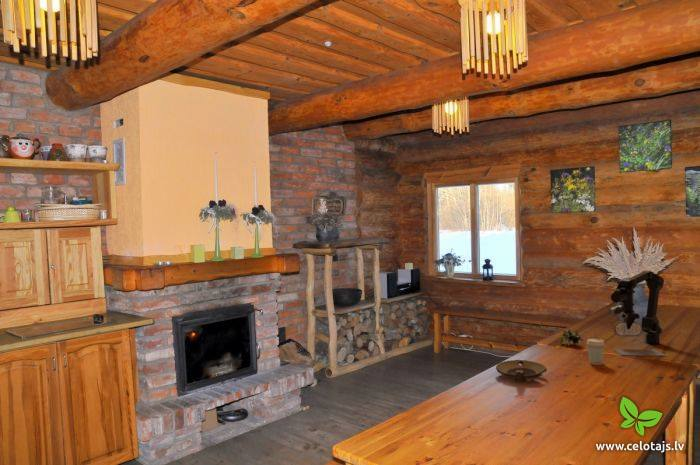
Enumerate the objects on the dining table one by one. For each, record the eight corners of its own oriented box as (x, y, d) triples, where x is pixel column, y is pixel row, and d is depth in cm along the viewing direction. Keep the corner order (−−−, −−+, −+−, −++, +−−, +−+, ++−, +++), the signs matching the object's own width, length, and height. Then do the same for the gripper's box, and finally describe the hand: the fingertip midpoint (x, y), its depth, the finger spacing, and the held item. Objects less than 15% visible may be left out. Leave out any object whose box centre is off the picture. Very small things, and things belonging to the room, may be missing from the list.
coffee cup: (607, 366, 259) (607, 342, 259) (588, 365, 261) (588, 341, 261) (602, 361, 268) (602, 338, 268) (584, 361, 269) (584, 338, 269)
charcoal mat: (655, 350, 287) (655, 349, 287) (665, 356, 275) (665, 355, 275) (613, 350, 290) (613, 349, 290) (621, 355, 279) (621, 354, 279)
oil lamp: (554, 375, 246) (554, 359, 246) (529, 391, 224) (529, 373, 224) (509, 367, 261) (508, 352, 261) (481, 382, 238) (481, 365, 238)
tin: (641, 335, 295) (640, 320, 296) (643, 336, 292) (642, 321, 293) (613, 335, 298) (612, 321, 298) (615, 336, 294) (614, 321, 295)
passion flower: (574, 353, 306) (587, 338, 303) (567, 353, 299) (580, 337, 295) (559, 340, 314) (571, 325, 310) (552, 339, 306) (564, 324, 302)
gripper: (606, 298, 305) (607, 325, 306) (618, 303, 287) (618, 331, 287) (627, 298, 304) (627, 325, 304) (639, 303, 285) (640, 332, 286)
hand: (627, 328), depth 295 cm, fingers closed on tin, 2 cm apart
